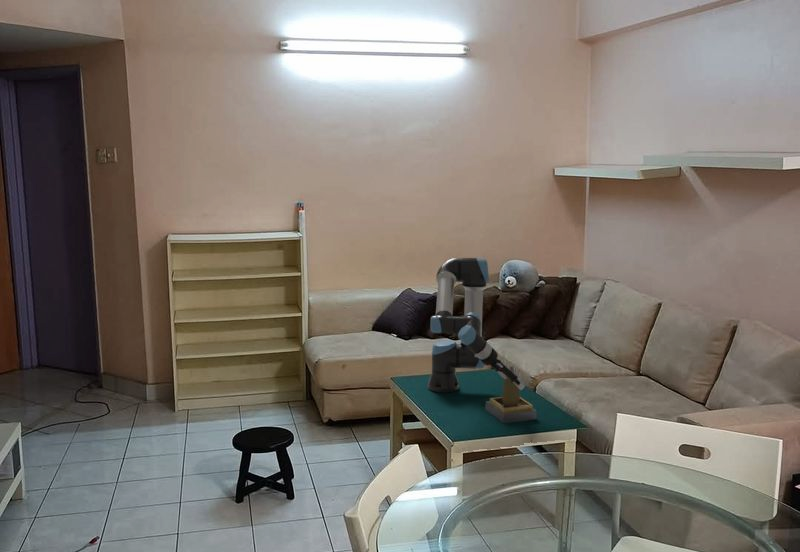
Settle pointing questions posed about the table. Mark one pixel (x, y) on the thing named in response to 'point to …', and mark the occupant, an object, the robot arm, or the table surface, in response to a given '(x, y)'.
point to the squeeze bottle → (510, 392)
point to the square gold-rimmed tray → (510, 410)
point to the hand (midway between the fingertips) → (515, 383)
